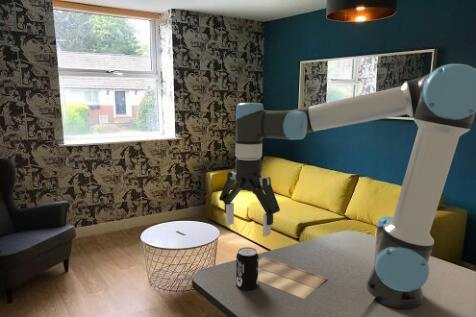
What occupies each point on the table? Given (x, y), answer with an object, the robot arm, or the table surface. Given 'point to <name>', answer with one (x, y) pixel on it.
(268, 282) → the laid plank
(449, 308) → the table surface
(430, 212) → the robot arm
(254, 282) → the beverage can
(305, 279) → the loose plank
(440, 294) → the table surface
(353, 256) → the table surface
